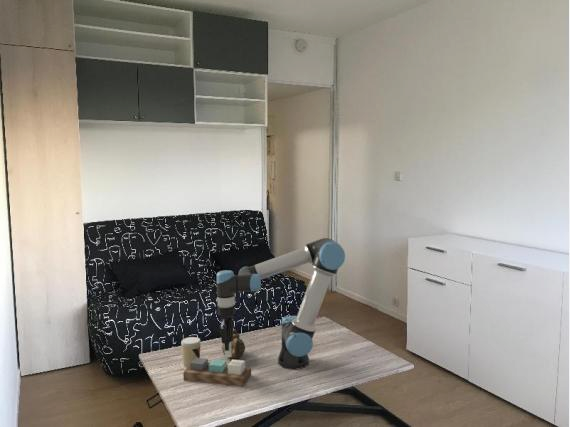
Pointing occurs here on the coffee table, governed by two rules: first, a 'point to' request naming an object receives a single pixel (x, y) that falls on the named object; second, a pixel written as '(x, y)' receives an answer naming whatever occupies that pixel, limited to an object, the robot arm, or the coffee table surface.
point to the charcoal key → (199, 364)
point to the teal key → (217, 366)
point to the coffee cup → (190, 350)
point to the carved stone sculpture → (236, 346)
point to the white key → (236, 367)
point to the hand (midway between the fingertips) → (228, 356)
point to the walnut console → (217, 376)
